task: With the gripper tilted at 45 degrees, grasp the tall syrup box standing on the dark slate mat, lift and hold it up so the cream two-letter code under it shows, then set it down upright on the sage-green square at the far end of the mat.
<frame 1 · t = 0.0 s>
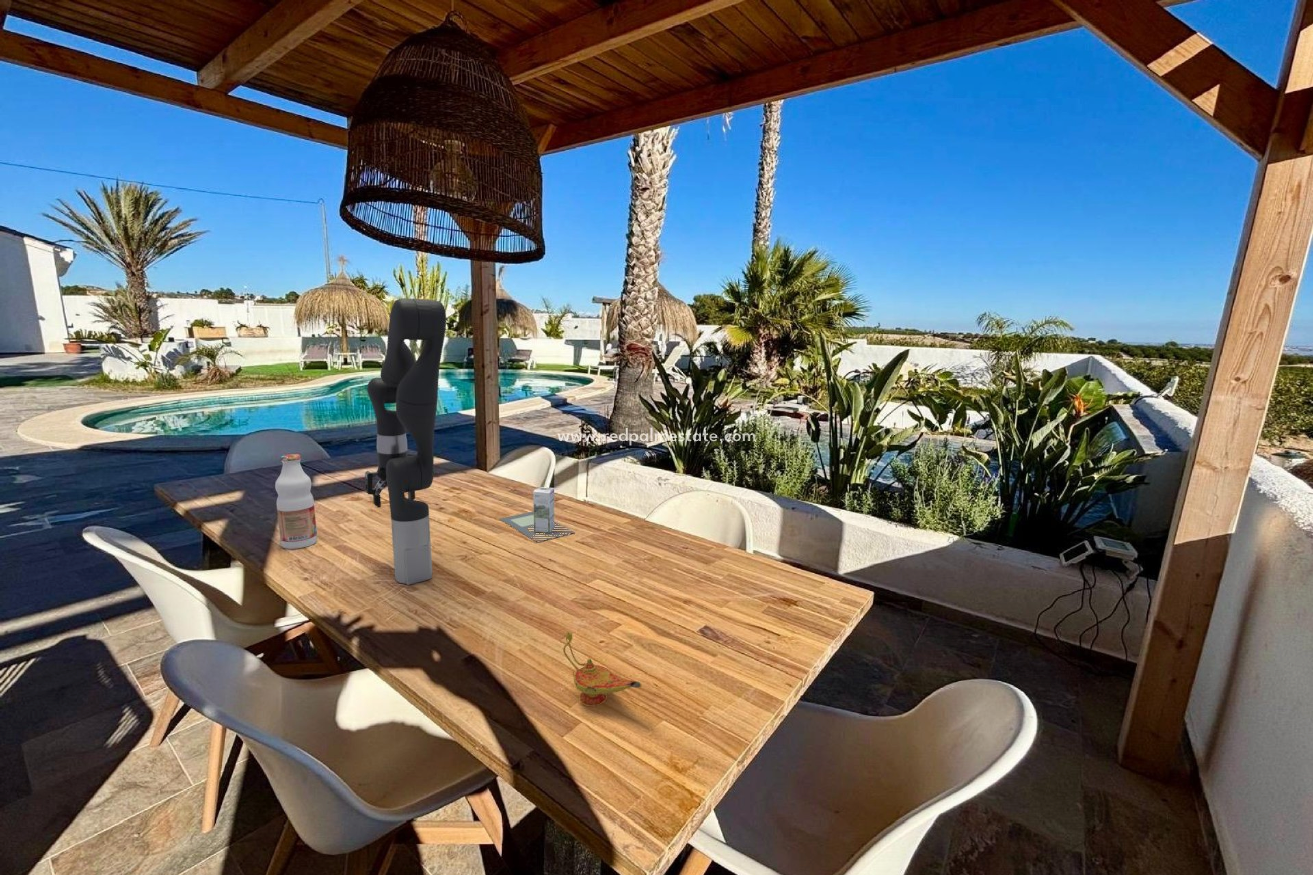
hand: (395, 503, 150), 17 cm above the table, tool pointing down, fingers open, 8 cm apart
magic lamp: (600, 701, 96), on the table
syrup box: (544, 530, 180), resting on code mat
fruit juice: (299, 544, 164), on the table
code mat: (535, 526, 184), on the table
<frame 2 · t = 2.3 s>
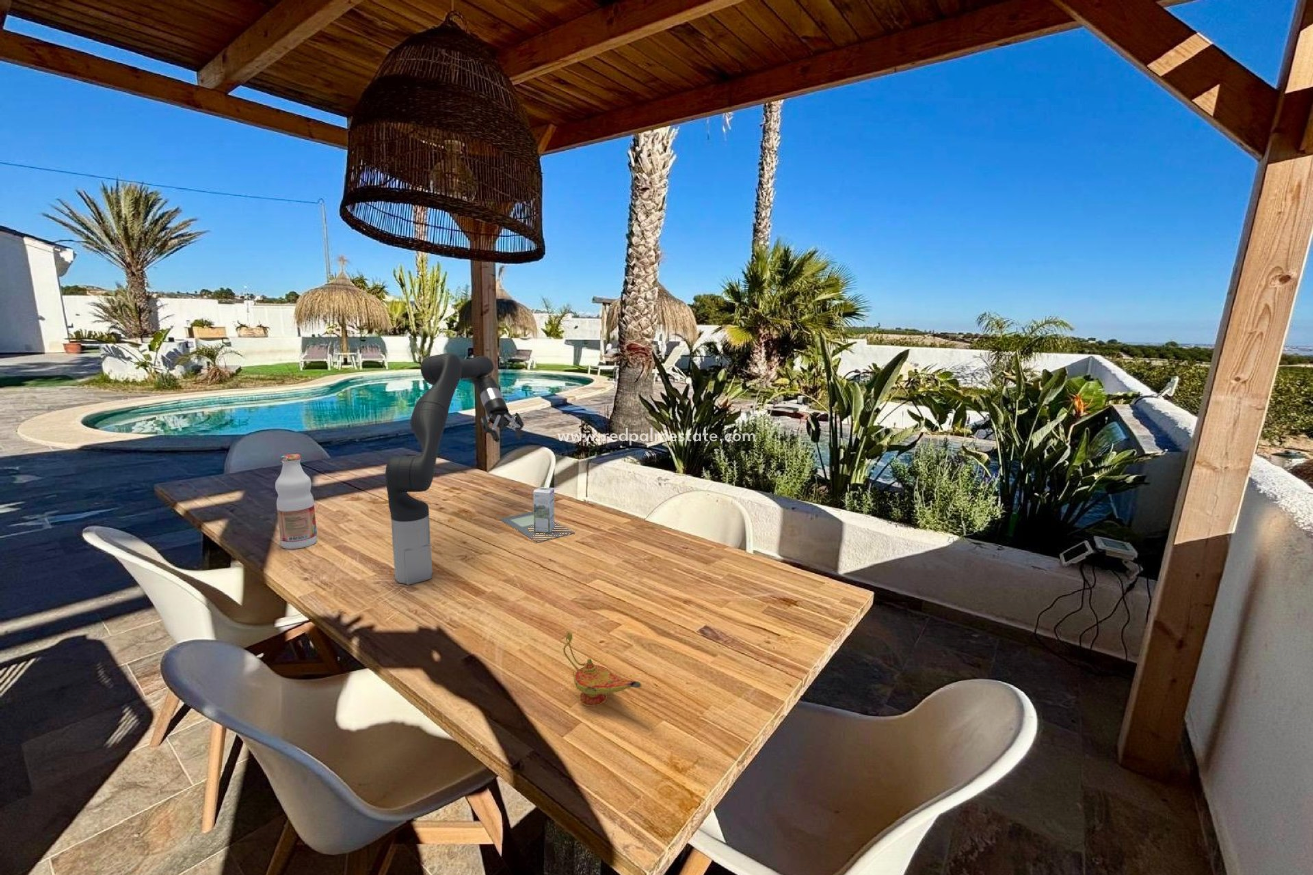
hand: (509, 439, 185), 29 cm above the table, tool tilted 45°, fingers open, 8 cm apart
nothing on the table moved.
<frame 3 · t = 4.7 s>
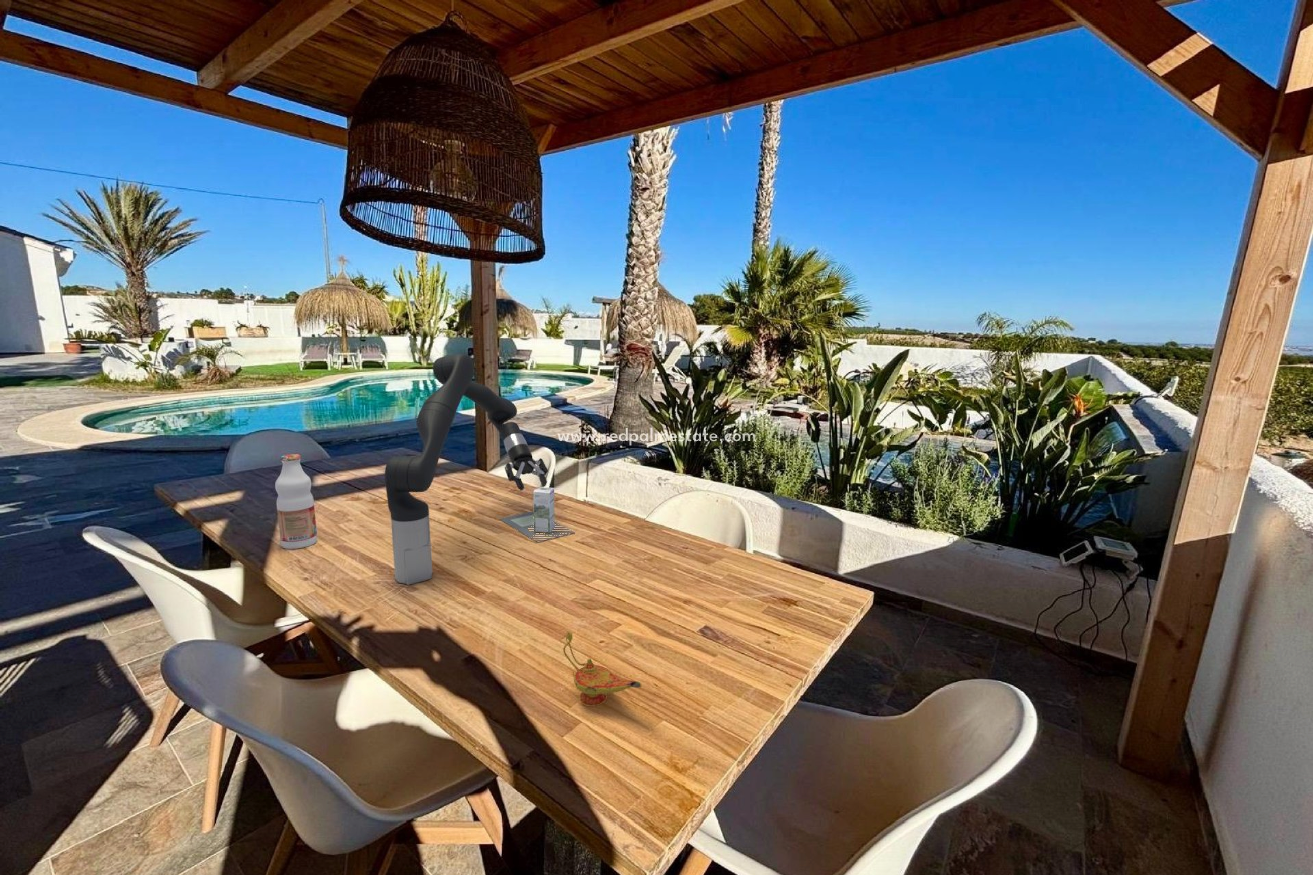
hand: (533, 487, 182), 14 cm above the table, tool tilted 45°, fingers open, 8 cm apart
nothing on the table moved.
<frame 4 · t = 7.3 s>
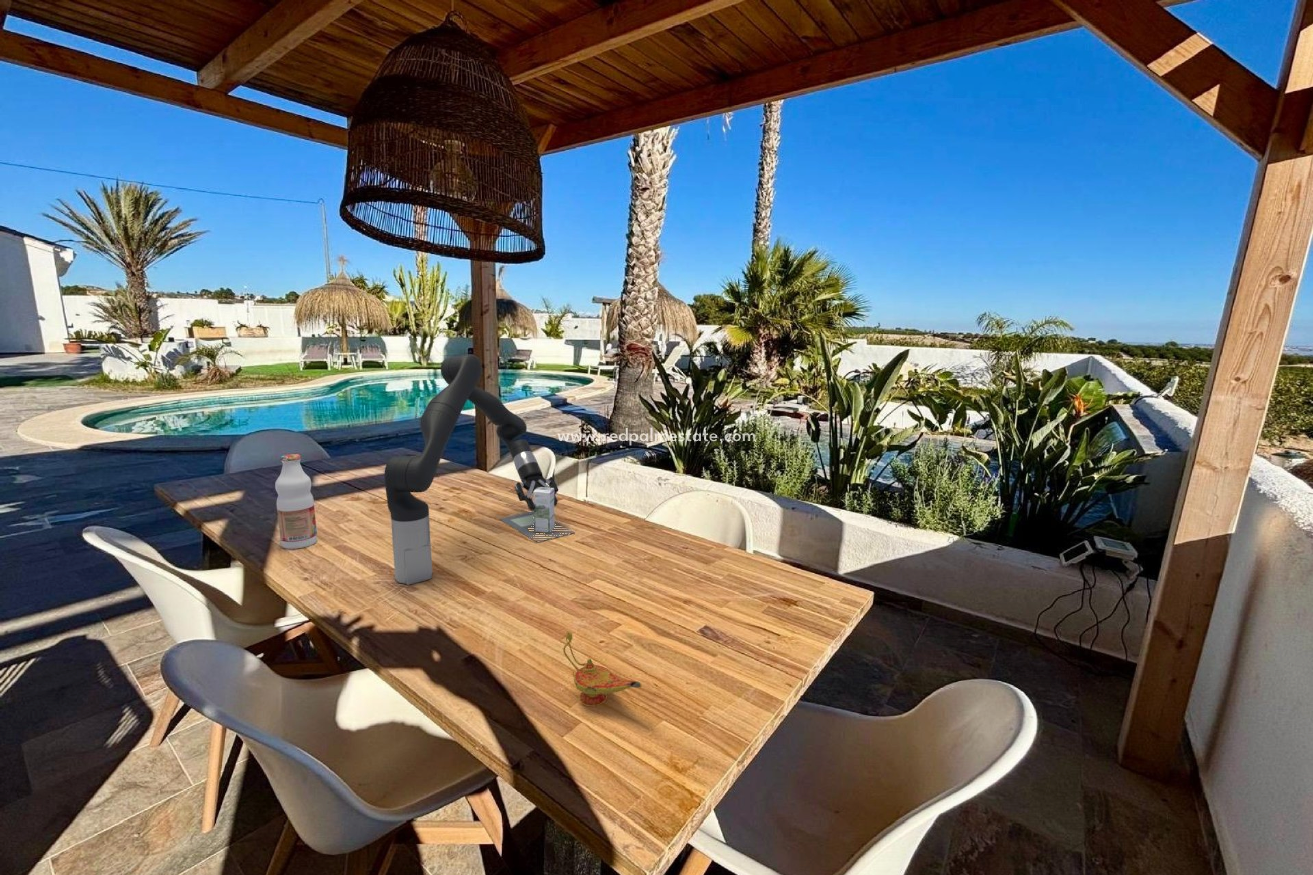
hand: (544, 507, 178), 9 cm above the table, tool tilted 45°, fingers closed on syrup box, 8 cm apart
syrup box: (544, 530, 180), resting on code mat, touching gripper
everything else where it was.
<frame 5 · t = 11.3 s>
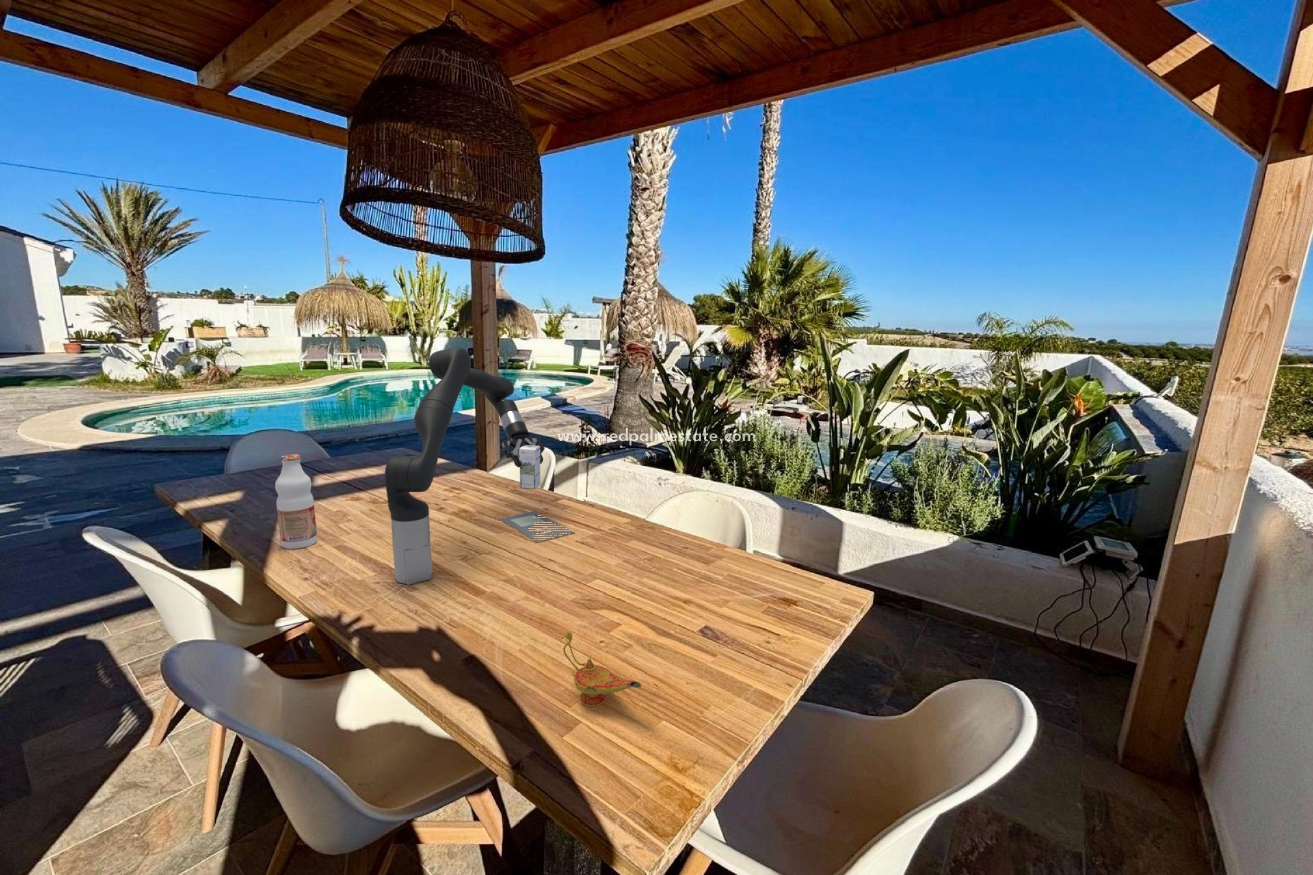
hand: (530, 464, 183), 21 cm above the table, tool tilted 45°, fingers closed on syrup box, 8 cm apart
syrup box: (530, 487, 185), point 13 cm above the table, touching gripper
everything else where it was.
when the fingers open (10 cm above the table, at t = 15.3 s): syrup box drops 1 cm, resting on code mat.
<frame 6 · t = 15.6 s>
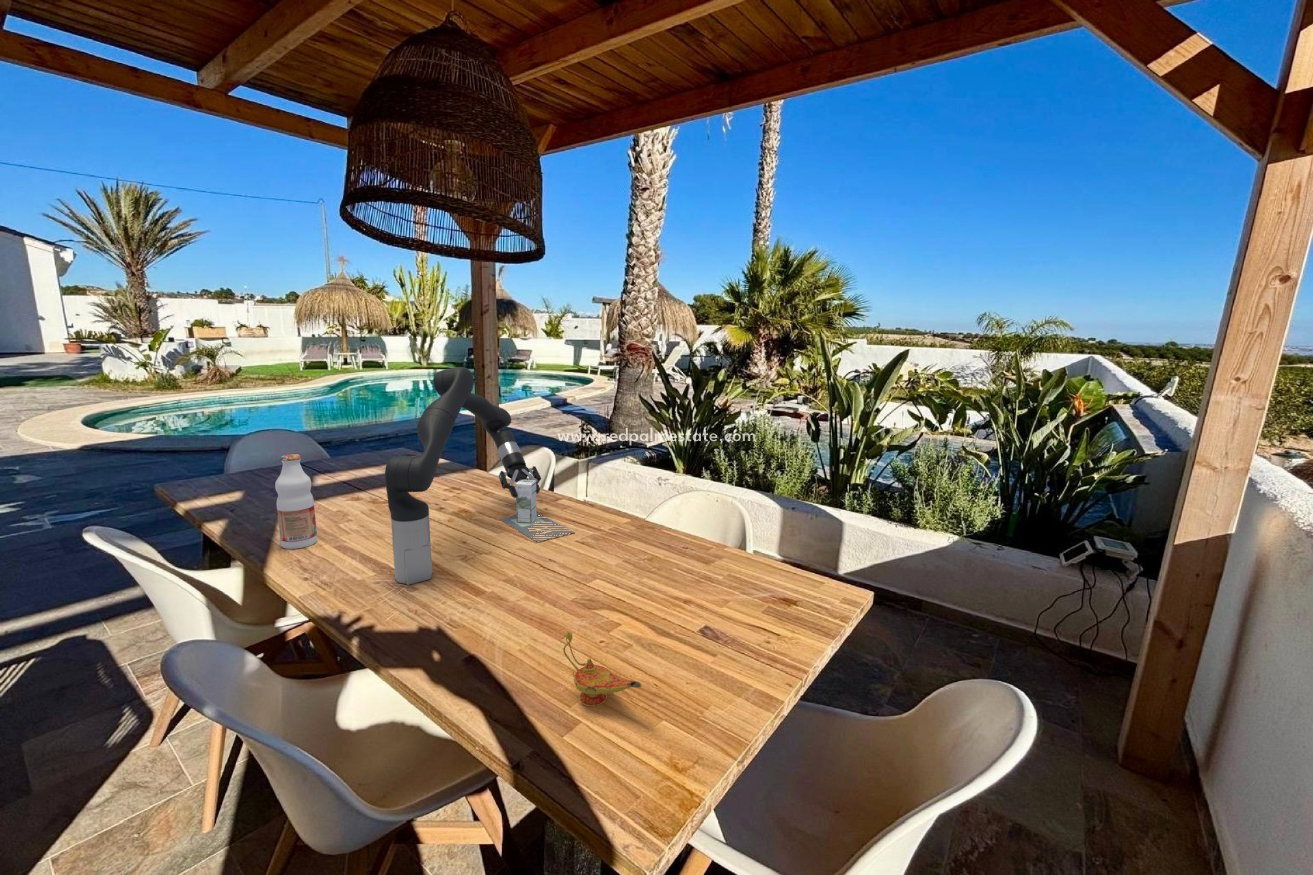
hand: (527, 494, 186), 10 cm above the table, tool tilted 45°, fingers open, 8 cm apart
syrup box: (526, 521, 188), resting on code mat, touching gripper
everything else where it was.
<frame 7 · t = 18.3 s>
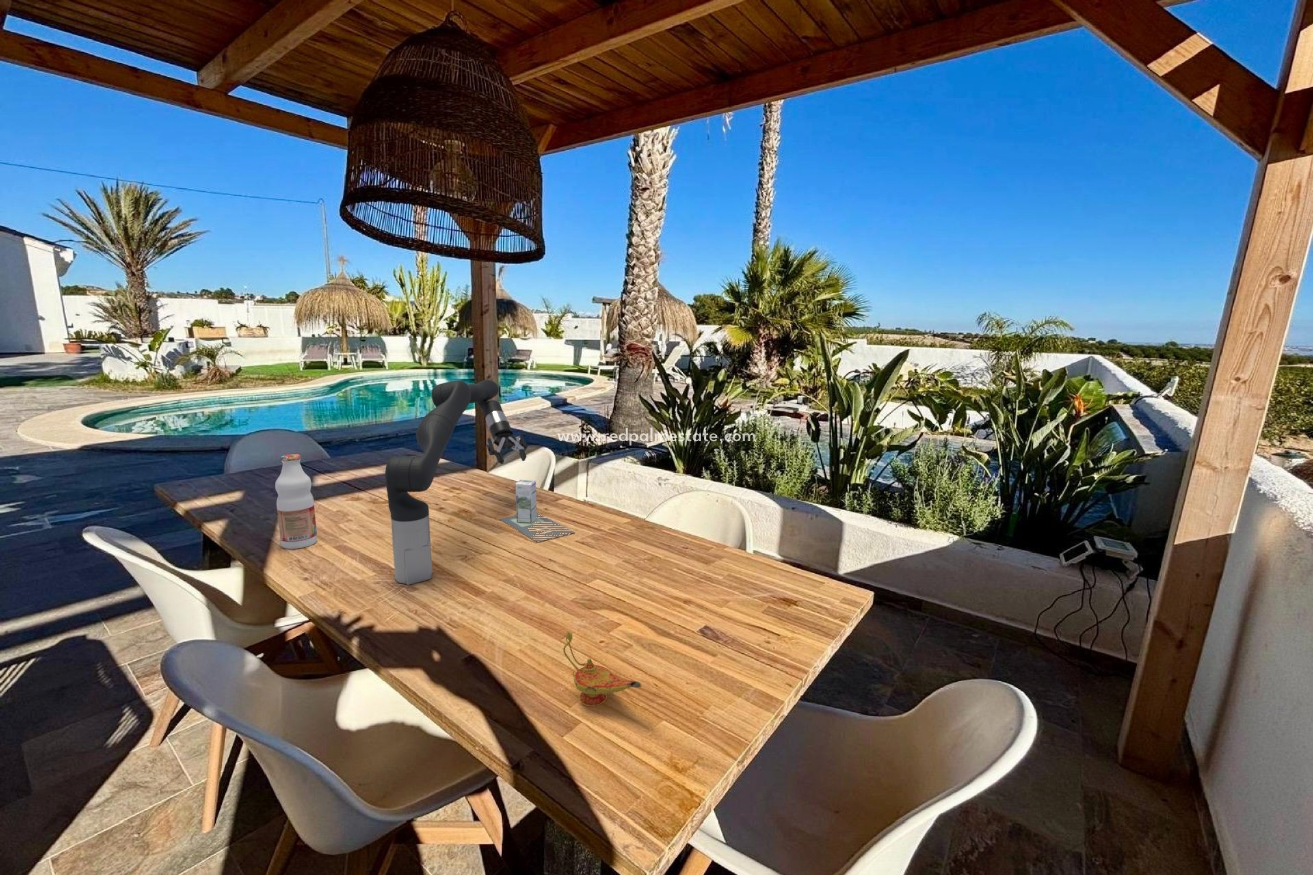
hand: (513, 461, 192), 20 cm above the table, tool tilted 45°, fingers open, 8 cm apart
syrup box: (526, 521, 188), resting on code mat
everything else where it was.
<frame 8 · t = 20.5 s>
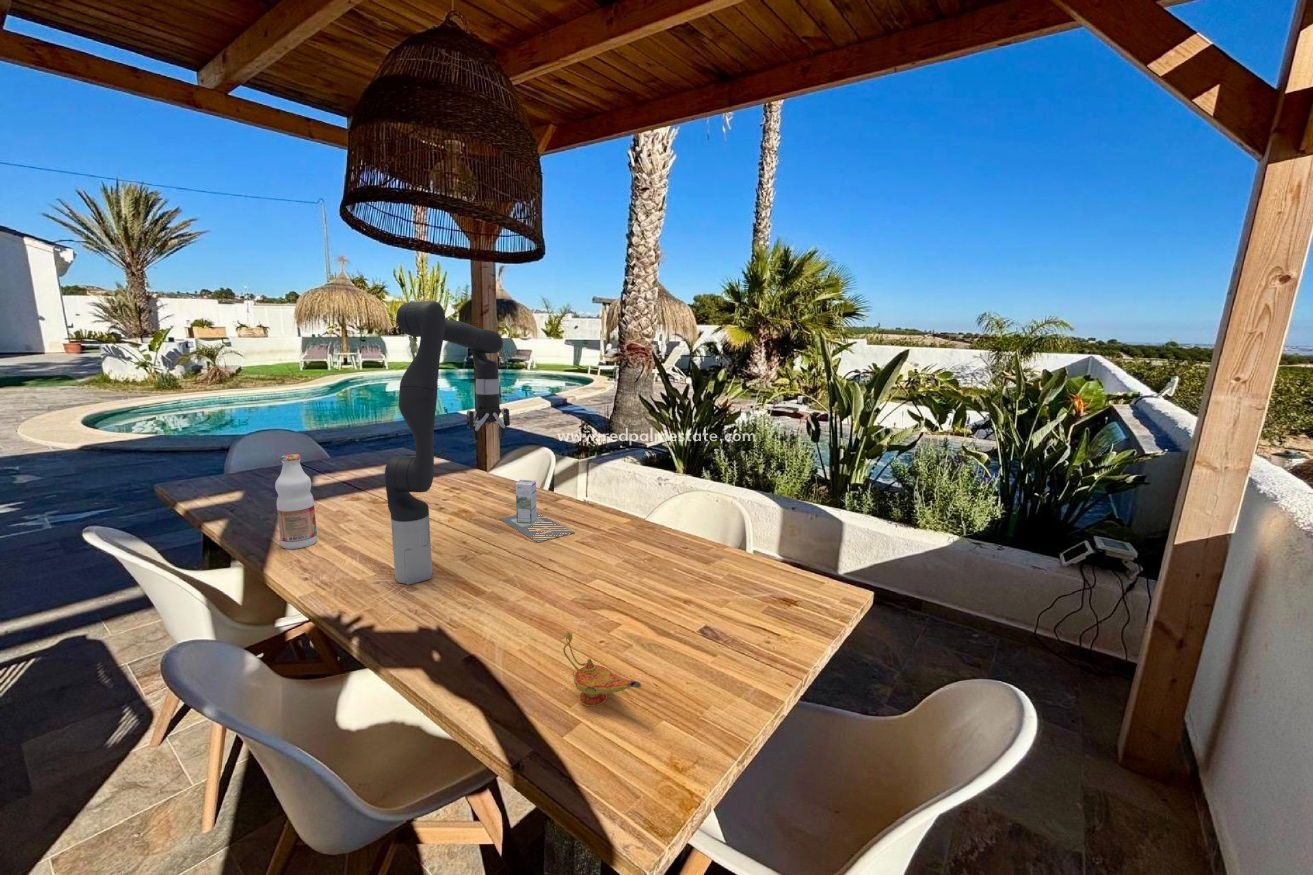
hand: (489, 439, 179), 30 cm above the table, tool pointing down, fingers open, 8 cm apart
nothing on the table moved.
at the end: syrup box 0.3 cm from the target spot on the code mat, point 0.1 cm above the code mat's base; syrup box tilted 0°; the gripper is holding nothing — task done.
